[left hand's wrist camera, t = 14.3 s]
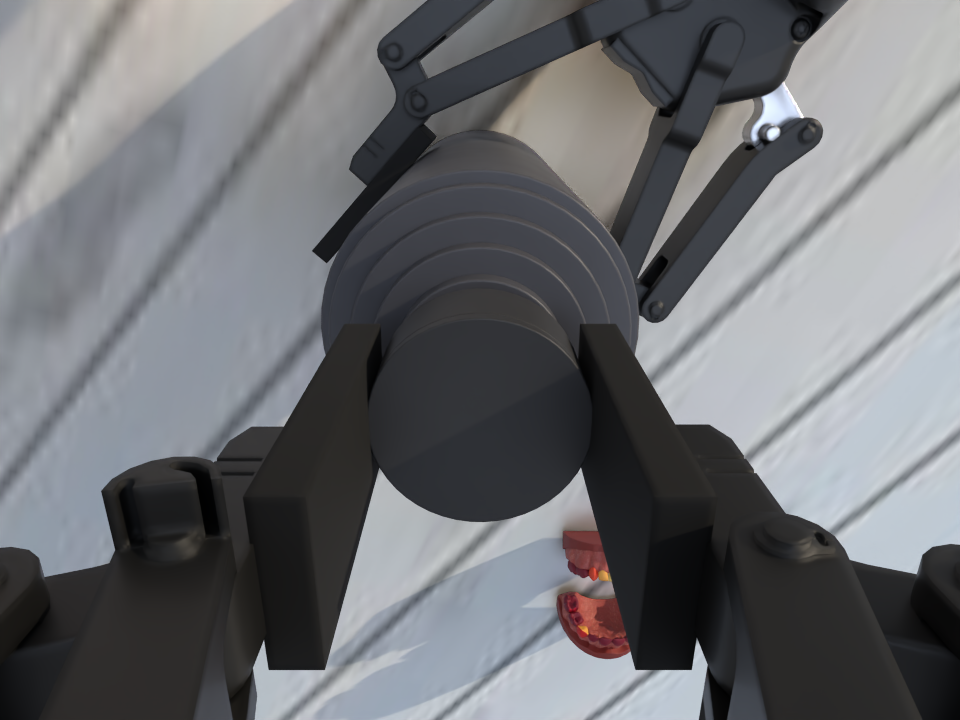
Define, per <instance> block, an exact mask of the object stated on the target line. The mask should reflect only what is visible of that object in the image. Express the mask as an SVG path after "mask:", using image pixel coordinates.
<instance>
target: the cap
mask: <svg viewBox="0 0 960 720" xmlns="http://www.w3.org/2000/svg"><path fill="white" fill-rule="evenodd" d="M592 408H593V403H592V398H591V394H590V391H589V388H588V385H587V382H586V380H585V377H584V374H583V371H582V369H581V366H580V363H579V361H578V358H577V355H576V352H575V350H574V347H573V345H572V343H571V341H570V339H569V337H568V335H567V334H566V332H565V331H564V330H563V328H562V327H561V325H560V324H559V323H558V322H557V321H556V320H555V319H554V318H553V317H552V316H551V315H550V314H549V313H548V312H546V311H545V310H544V309H543V308H541V307H540V306H538V305H537V304H535V303H533V302H532V301H530V300H528V299H526V298H523V297H521V296H519V295H516V294H513V293H509V292H506V291H501V290H495V289H480V288H475V289H465V290H459V291H455V292H451V293H447V294H445V295H442V296H439V297H437V298H435V299H433V300H431V301H429V302H427V303H425V304H424V305H422V306H421V307H419V308H418V309H417V310H415V311H414V312H413V313H412V314H411V315H409V316H408V317H407V318H406V319H405V320H404V321H403V322H402V324H401V325H400V326H399V327H398V329H397V330H396V331H395V333H394V335H393V336H392V338H391V340H390V341H389V344H388V346H387V348H386V351H385V353H384V356H383V359H382V361H381V364H380V367H379V369H378V372H377V375H376V378H375V380H374V383H373V386H372V389H371V392H370V396H369V400H368V417H369V432H370V446H371V450H372V453H373V456H374V458H375V460H376V462H377V464H378V466H379V467H380V469H381V470H382V472H383V473H384V475H385V476H386V478H387V479H388V480H389V481H390V482H391V484H392V485H393V486H394V487H395V488H396V489H397V490H398V491H399V492H400V493H402V494H403V495H404V496H405V497H406V498H408V499H409V500H411V501H412V502H414V503H415V504H417V505H418V506H420V507H422V508H424V509H426V510H428V511H430V512H433V513H435V514H438V515H440V516H443V517H447V518H451V519H455V520H462V521H469V522H489V521H499V520H504V519H509V518H513V517H517V516H520V515H523V514H526V513H528V512H530V511H532V510H535V509H537V508H539V507H540V506H542V505H544V504H545V503H547V502H549V501H550V500H551V499H553V498H554V497H555V496H556V495H558V494H559V493H560V492H561V491H562V490H563V489H564V488H565V487H566V486H567V485H568V484H569V483H570V482H571V481H572V479H573V478H574V477H575V475H576V474H577V473H578V471H579V470H580V468H581V466H582V464H583V463H584V461H585V458H586V456H587V454H588V451H589V449H590V439H591V424H592Z"/></svg>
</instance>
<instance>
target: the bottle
mask: <svg viewBox="0 0 960 720" xmlns="http://www.w3.org/2000/svg"><path fill="white" fill-rule="evenodd" d="M475 288H480V289H495V290H501V291H506V292H509V293H513V294H516V295H519V296H521V297H523V298H526V299H528V300H530V301H532V302H533V303H535V304H537V305H538V306H540V307H541V308H543V309H544V310H545V311H546V312H548V313H549V314H550V315H551V316H552V317H553V318H554V319H555V320H556V321H557V322H558V323H559V324H560V325H561V327H562V328H563V330H564V331H565V332H566V334H567V335H568V337H569V339H570V341H571V343H572V345H573V347H574V350H575V352H576V355H577V358H578V350H579V333H580V324H616V325H617V326H618V328H619V330H620V331H621V333H622V335H623V336H624V338H625V340H626V342H627V343H628V345H629V347H630V348H631V350H632V352H633V353H634V355H635V350H636V345H637V340H638V329H639V310H638V298H637V293H636V289H635V285H634V280H633V277H632V274H631V271H630V269H629V266H628V264H627V261H626V258H625V257H624V255H623V253H622V251H621V249H620V248H619V246H618V244H617V242H616V240H615V239H614V238H613V236H612V235H611V234H610V232H609V231H608V230H607V228H606V227H605V226H604V224H603V223H602V222H601V221H600V220H599V219H598V218H597V217H596V216H595V215H594V214H593V213H592V212H591V210H590V209H589V208H588V207H587V206H586V205H585V204H584V203H583V202H582V201H581V200H580V199H579V198H578V197H577V196H576V195H575V193H574V192H573V191H572V190H571V189H570V188H569V187H568V186H567V185H566V184H565V183H564V182H563V181H562V180H561V179H560V178H559V176H558V175H557V174H556V173H555V172H554V171H553V170H552V169H551V168H550V167H549V166H548V165H547V164H546V163H545V162H544V161H543V160H542V158H541V157H540V156H539V155H538V154H537V153H536V152H535V151H534V150H532V149H531V148H530V147H528V146H527V145H526V144H524V143H523V142H521V141H519V140H517V139H516V138H513V137H511V136H508V135H506V134H502V133H498V132H494V131H485V130H476V131H467V132H461V133H458V134H455V135H452V136H449V137H447V138H445V139H443V140H441V141H439V142H437V143H436V144H434V145H433V146H431V147H430V148H429V149H428V150H427V151H425V152H424V153H423V154H422V155H421V156H420V157H419V158H418V159H417V160H416V162H415V163H414V164H413V165H412V166H411V167H410V168H409V169H408V170H407V171H406V172H405V173H404V174H403V175H402V176H401V178H400V179H399V180H398V181H397V182H396V183H395V184H394V185H393V186H392V187H391V188H390V189H389V190H388V191H387V192H386V194H385V195H384V196H383V197H382V198H381V199H380V200H379V201H378V202H377V203H376V204H375V205H374V206H373V207H372V208H371V210H370V211H369V212H368V213H367V214H366V215H365V216H364V217H363V218H362V219H361V221H360V222H359V223H358V224H357V225H356V226H355V228H354V229H353V230H352V231H351V232H350V234H349V235H348V237H347V238H346V240H345V241H344V243H343V245H342V246H341V248H340V249H339V251H338V253H337V255H336V258H335V260H334V262H333V264H332V266H331V268H330V272H329V275H328V278H327V282H326V285H325V288H324V295H323V302H322V311H321V329H322V337H323V345H324V350H325V354H327V353H328V351H329V349H330V347H331V346H332V344H333V342H334V341H335V339H336V337H337V336H338V334H339V332H340V330H341V329H342V327H343V325H344V324H380V325H381V342H382V359H383V356H384V353H385V351H386V348H387V346H388V344H389V341H390V340H391V338H392V336H393V335H394V333H395V331H396V330H397V329H398V327H399V326H400V325H401V324H402V322H403V321H404V320H405V319H406V318H407V317H408V316H409V315H411V314H412V313H413V312H414V311H415V310H417V309H418V308H419V307H421V306H422V305H424V304H425V303H427V302H429V301H431V300H433V299H435V298H437V297H439V296H442V295H445V294H447V293H451V292H455V291H459V290H465V289H475Z"/></svg>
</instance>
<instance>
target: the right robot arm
mask: <svg viewBox="0 0 960 720" xmlns="http://www.w3.org/2000/svg"><path fill="white" fill-rule="evenodd" d="M492 1H494V0H427V1H426V2H425V3H424V4H423V5H421V6H420V7H419V8H418V9H417V10H416V11H414V12H413V13H412V14H411V15H410V16H408V17H407V18H406V19H405V20H404V21H402V22H401V23H400V24H399V25H398V26H397V27H395V28H394V29H393V30H392V31H391V32H389V33H388V34H387V35H386V36H385V37H383V39H382V40H381V41H380V42H379V45H378V49H377V52H378V58H379V60H380V62H381V63H382V64H383V65H384V67H385V69H386V71H387V73H388V75H389V77H390V79H391V81H392V83H393V85H394V88H395V90H396V102H395V105H394V107H393V108H392V110H391V111H390V112H389V114H388V115H387V116H386V117H385V118H384V120H383V121H382V122H381V123H380V124H379V126H378V127H377V128H376V129H375V130H374V132H373V133H372V134H371V135H370V137H369V138H368V139H367V140H366V141H365V143H364V144H363V145H362V146H361V147H360V149H359V150H358V151H357V152H356V153H355V155H354V156H353V158H352V161H351V165H350V168H349V170H350V171H351V172H352V173H353V174H355V175H356V176H357V177H358V178H359V179H360V180H361V181H362V182H363V183H365V184H366V185H367V187H366V188H365V189H364V190H363V192H362V193H361V194H360V195H359V196H358V198H357V199H356V200H355V201H354V202H353V203H352V205H351V206H350V207H349V208H348V209H347V210H346V212H345V213H344V214H343V215H342V216H341V218H340V219H339V220H338V221H337V222H336V223H335V225H334V226H333V227H332V228H331V229H330V230H329V232H328V233H327V234H326V235H325V236H324V238H323V239H322V240H321V241H320V242H319V243H318V245H317V246H316V247H315V248H314V249H313V250H312V251H313V252H314V253H315V254H316V255H317V256H319V257H320V258H321V259H322V260H323V261H325V262H326V263H327V262H328V261H329V260H330V259H331V258H332V257H333V256H334V255H335V254H336V252H337V251H338V250H339V249H340V248H341V246H342V245H343V243H344V241H345V240H346V238H347V237H348V235H349V234H350V232H351V231H352V230H353V229H354V228H355V226H356V225H357V224H358V223H359V222H360V221H361V219H362V218H363V217H364V216H365V215H366V214H367V213H368V212H369V211H370V210H371V208H372V207H373V206H374V205H375V204H376V203H377V202H378V201H379V200H380V199H381V198H382V197H383V196H384V195H385V194H386V192H387V191H388V190H389V189H390V188H391V187H392V186H393V185H394V184H395V183H396V182H397V181H398V180H399V179H400V178H401V176H402V175H403V174H404V173H405V172H406V171H407V170H408V169H409V168H410V167H411V166H412V165H413V164H414V162H415V161H416V160H417V159H418V158H419V157H420V155H421V154H422V153H423V152H424V151H425V150H426V149H427V147H428V146H429V145H430V144H431V143H432V142H433V140H434V139H435V138H436V137H437V136H436V135H435V134H434V133H433V132H432V131H431V130H429V129H428V128H427V127H426V126H425V125H424V123H425V122H426V121H427V120H428V119H429V117H430V116H431V115H433V114H435V113H437V112H439V111H442V110H444V109H446V108H448V107H451V106H453V105H455V104H457V103H460V102H462V101H464V100H466V99H469V98H471V97H473V96H475V95H478V94H480V93H482V92H484V91H487V90H489V89H491V88H493V87H496V86H498V85H500V84H502V83H505V82H507V81H509V80H511V79H514V78H516V77H518V76H520V75H523V74H525V73H527V72H529V71H532V70H534V69H536V68H538V67H541V66H543V65H545V64H547V63H550V62H552V61H554V60H556V59H559V58H561V57H563V56H565V55H568V54H570V53H572V52H574V51H577V50H579V49H581V48H583V47H586V46H588V45H590V44H592V43H595V42H597V41H599V40H601V43H602V45H603V48H602V49H601V50H602V51H603V52H604V53H605V54H606V55H607V56H608V57H609V59H610V60H611V61H612V62H613V63H614V64H616V65H617V66H619V67H621V68H622V69H624V70H626V71H627V72H629V73H630V74H631V75H632V76H633V78H634V80H635V82H636V84H637V86H638V88H639V90H640V92H641V93H642V95H643V96H644V97H645V98H646V99H647V100H648V101H649V102H650V103H651V104H652V105H653V106H656V107H657V109H656V112H655V114H654V117H653V119H652V122H651V125H650V128H649V135H648V139H647V142H646V144H645V147H644V149H643V152H642V154H641V157H640V159H639V162H638V164H637V166H636V169H635V171H634V174H633V176H632V179H631V181H630V184H629V186H628V189H627V191H626V194H625V196H624V199H623V201H622V204H621V206H620V209H619V211H618V214H617V216H616V219H615V221H614V223H613V226H612V228H611V231H610V234H611V235H612V236H613V238H614V239H615V240H616V242H617V244H618V246H619V248H620V249H621V251H622V253H623V255H624V257H625V258H626V261H627V264H628V266H629V269H630V271H631V274H632V277H633V280H634V285H635V289H636V293H637V298H638V310H639V315H640V316H642V317H644V318H645V319H646V320H647V321H649V322H652V323H658V322H661V321H663V320H664V319H665V318H666V317H667V316H668V315H669V314H670V313H671V311H672V310H673V309H674V307H675V306H676V305H677V303H678V302H679V301H680V299H681V298H682V297H683V296H684V294H685V293H686V292H687V290H688V289H689V288H690V286H691V285H692V284H693V282H694V281H695V280H696V279H697V277H698V276H699V275H700V273H701V272H702V271H703V269H704V268H705V267H706V266H707V264H708V263H709V262H710V260H711V259H712V258H713V256H714V255H715V254H716V252H717V251H718V250H719V249H720V247H721V246H722V245H723V243H724V242H725V241H726V239H727V238H728V237H729V235H730V234H731V233H732V232H733V230H734V229H735V228H736V226H737V225H738V224H739V222H740V221H741V220H742V219H743V217H744V216H745V215H746V213H747V212H748V211H749V209H750V208H751V207H752V205H753V204H754V203H755V202H756V200H757V199H758V198H759V196H760V195H761V194H762V192H763V191H764V190H765V188H766V187H767V186H768V185H769V183H770V182H771V181H772V179H773V178H774V177H775V175H776V174H778V173H779V172H781V171H782V170H783V169H785V168H786V167H788V166H789V165H791V164H792V163H793V162H795V161H796V160H798V159H799V158H800V157H802V156H803V155H805V154H806V153H807V152H809V151H810V150H812V149H813V148H814V147H815V146H816V145H817V144H818V143H819V142H820V140H821V138H822V134H823V129H822V125H821V124H820V122H819V121H818V120H816V119H813V118H805V117H804V116H803V115H802V113H801V111H800V110H799V108H798V106H797V104H796V103H795V101H794V99H793V97H792V96H791V94H790V92H789V90H788V88H787V87H786V85H785V83H784V80H785V79H786V77H787V75H788V73H789V71H790V68H791V65H792V62H793V60H794V58H795V56H796V54H797V53H798V51H799V50H800V48H801V47H802V45H803V44H804V43H805V42H806V41H807V40H808V39H809V38H810V37H811V36H812V35H813V34H814V33H815V32H817V31H818V30H819V29H820V28H821V27H822V26H823V25H824V24H825V23H826V22H827V21H828V20H829V19H830V18H831V17H832V16H833V15H834V14H835V13H836V12H837V11H838V10H839V9H840V8H841V7H842V6H843V5H844V4H845V3H846V2H847V1H848V0H600V1H597V2H595V3H593V4H591V5H589V6H586V7H584V8H582V9H580V10H578V11H576V12H574V13H572V14H570V15H568V16H566V17H564V18H561V19H559V20H557V21H555V22H553V23H550V24H548V25H546V26H544V27H542V28H539V29H537V30H535V31H533V32H531V33H528V34H526V35H524V36H522V37H520V38H517V39H515V40H513V41H511V42H508V43H506V44H504V45H502V46H500V47H497V48H495V49H493V50H491V51H489V52H486V53H484V54H482V55H480V56H478V57H475V58H473V59H471V60H469V61H467V62H464V63H462V64H460V65H458V66H455V67H453V68H451V69H449V70H447V71H444V72H442V73H440V74H438V75H436V76H433V77H431V78H429V79H428V77H427V75H426V73H425V71H424V69H423V67H422V65H421V63H420V60H421V59H423V58H424V57H425V56H426V55H428V54H429V53H430V52H431V51H432V50H434V49H435V48H436V47H437V46H439V45H440V44H441V43H442V42H443V41H445V40H446V39H447V38H448V37H450V36H451V35H452V34H453V33H454V32H456V31H457V30H458V29H459V28H461V27H462V26H463V25H464V24H465V23H467V22H468V21H469V20H470V19H472V18H473V17H474V16H475V15H476V14H478V13H479V12H480V11H481V10H483V9H484V8H485V7H486V6H487V5H489V4H490V3H491V2H492ZM749 99H753V101H754V112H753V114H752V117H751V118H750V119H749V120H748V121H747V123H746V124H745V126H744V128H743V132H742V136H743V140H744V142H743V143H742V144H740V145H739V146H738V147H737V148H736V149H735V150H734V151H733V152H732V153H731V154H730V156H729V157H728V158H727V159H726V160H725V162H724V163H723V164H722V166H721V167H720V168H719V170H718V171H717V172H716V174H715V175H714V176H713V178H712V179H711V181H710V182H709V183H708V185H707V186H706V187H705V189H704V190H703V191H702V193H701V194H700V196H699V197H698V198H697V200H696V201H695V202H694V204H693V205H692V206H691V208H690V209H689V211H688V212H687V213H686V215H685V216H684V217H683V219H682V220H681V221H680V223H679V224H678V226H677V227H676V228H675V230H674V231H673V232H672V234H671V235H670V236H669V238H668V239H667V241H666V242H665V243H664V245H663V246H662V247H661V249H660V250H659V251H658V253H657V254H656V256H655V257H654V258H653V260H652V261H651V262H650V264H649V265H648V266H647V268H646V269H645V271H644V272H643V273H642V275H641V276H640V277H639V279H638V278H637V277H638V275H639V272H640V270H641V268H642V265H643V263H644V261H645V258H646V256H647V254H648V251H649V249H650V247H651V244H652V242H653V240H654V237H655V235H656V233H657V230H658V228H659V226H660V223H661V221H662V219H663V216H664V214H665V212H666V209H667V207H668V205H669V202H670V200H671V198H672V195H673V193H674V191H675V188H676V186H677V184H678V181H679V179H680V177H681V174H682V172H683V170H684V167H685V165H686V163H687V160H688V158H689V156H690V154H691V152H692V150H693V149H694V148H695V147H696V146H697V145H698V143H699V142H700V140H701V138H702V136H703V133H704V131H705V129H706V126H707V124H708V122H709V119H710V117H711V115H712V112H713V110H714V108H715V106H719V105H724V104H729V103H734V102H739V101H744V100H749Z"/></svg>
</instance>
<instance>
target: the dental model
mask: <svg viewBox="0 0 960 720" xmlns="http://www.w3.org/2000/svg"><path fill="white" fill-rule="evenodd" d="M563 549H565V553H566V558H567V559H568V560H569V561H568V568H569V570H570V571H571V572H573V573H574V574H575V575H576V574H577V575H580V577H582V578H585V577H587V576H590V578H591V579H592V580H593V581H594V580H596V579H597V578H598V577H599V580H602V581H608V580H609V581H611V582H612V580H611V577H610V573H609V569H608V565H607V562H606V558H605V554H604V551H603V547H602V543H601V539H600V536H599V532H598V531H563ZM598 572H599V574H598ZM608 573H609V577H608ZM557 611H558V616H559V619H560V622H561V625H562V627H563V629H564V631H565V632H566V634H567V636H568V637H569V639H570V640H571V641H572V642H573V643H574V644H575V645H576V646H577V647H578V648H579V649H581V650H582V651H584V652H585V653H587V654H589V655H592V656H594V657H597V658H602V659H614V658H619V657H621V656H623V655H626V654H627V653H629V652H630V647H629V644H628V640H627V636H626V632H625V629H624V625H623V621H622V618H621V614H620V610H619V606H618V603H617V599H616V598H613V599H591V598H587V597H584V596H581V595H580V594H579V593H577V592H567V593H564V594H561V595H559V596H558V598H557Z"/></svg>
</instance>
